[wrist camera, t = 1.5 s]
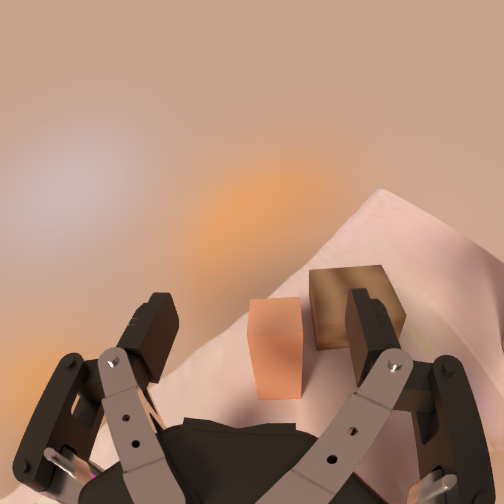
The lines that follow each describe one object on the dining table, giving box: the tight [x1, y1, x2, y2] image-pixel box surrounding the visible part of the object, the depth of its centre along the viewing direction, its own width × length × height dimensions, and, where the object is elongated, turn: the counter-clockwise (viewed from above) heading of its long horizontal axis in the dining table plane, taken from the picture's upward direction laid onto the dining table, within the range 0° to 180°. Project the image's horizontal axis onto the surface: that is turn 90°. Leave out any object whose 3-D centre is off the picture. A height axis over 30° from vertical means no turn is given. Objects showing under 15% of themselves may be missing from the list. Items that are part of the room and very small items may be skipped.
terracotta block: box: [247, 297, 303, 400], centre depth 30 cm, size 5×5×12 cm
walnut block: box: [309, 265, 406, 350], centre depth 40 cm, size 12×12×5 cm
